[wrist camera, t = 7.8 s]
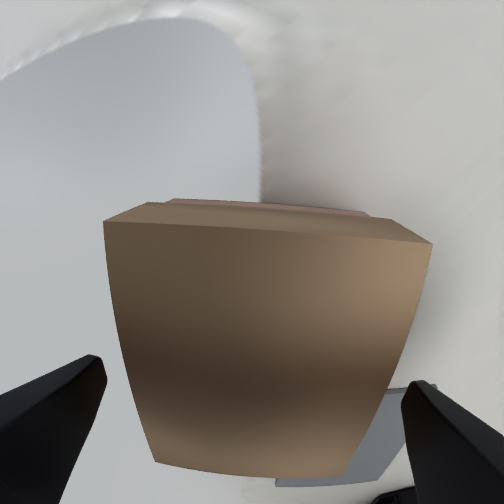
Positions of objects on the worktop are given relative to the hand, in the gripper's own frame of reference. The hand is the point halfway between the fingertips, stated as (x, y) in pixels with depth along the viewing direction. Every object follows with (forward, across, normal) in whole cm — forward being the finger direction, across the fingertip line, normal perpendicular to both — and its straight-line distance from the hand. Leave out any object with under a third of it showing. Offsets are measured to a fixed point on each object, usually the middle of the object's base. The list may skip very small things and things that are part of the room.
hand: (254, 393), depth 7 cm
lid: (+2, 0, 0) cm, 2 cm away
